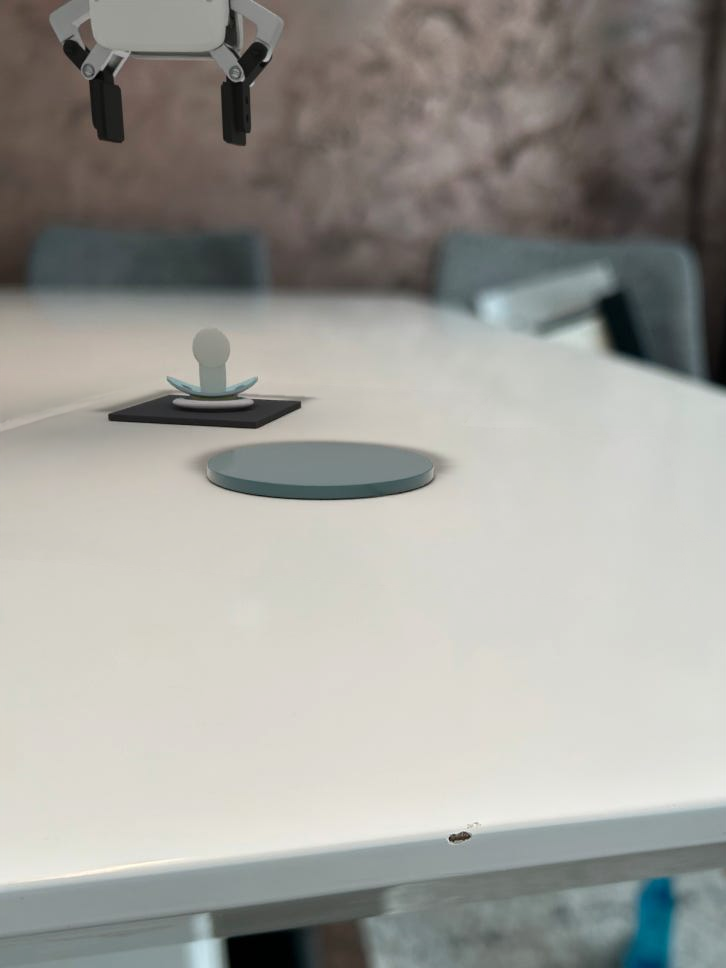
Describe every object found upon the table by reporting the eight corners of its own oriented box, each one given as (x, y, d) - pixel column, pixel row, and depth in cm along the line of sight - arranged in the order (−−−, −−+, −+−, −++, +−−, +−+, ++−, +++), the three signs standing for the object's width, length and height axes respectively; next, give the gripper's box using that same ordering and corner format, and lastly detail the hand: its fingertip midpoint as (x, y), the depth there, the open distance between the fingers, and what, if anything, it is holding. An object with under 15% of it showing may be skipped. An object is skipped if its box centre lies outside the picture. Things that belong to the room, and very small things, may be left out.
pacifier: (259, 414, 89) (258, 401, 94) (256, 334, 87) (255, 325, 92) (165, 414, 88) (169, 401, 93) (160, 333, 85) (164, 324, 91)
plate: (170, 490, 64) (169, 477, 63) (251, 449, 77) (250, 437, 76) (409, 505, 62) (409, 491, 62) (450, 460, 75) (450, 448, 75)
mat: (108, 420, 86) (107, 413, 86) (169, 400, 97) (169, 394, 97) (256, 428, 85) (256, 421, 85) (301, 406, 96) (301, 401, 96)
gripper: (293, -111, 79) (299, 150, 85) (65, -110, 81) (86, 144, 87) (260, -145, 72) (268, 141, 78) (11, -143, 74) (38, 136, 80)
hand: (172, 142), depth 82 cm, fingers open, 9 cm apart
